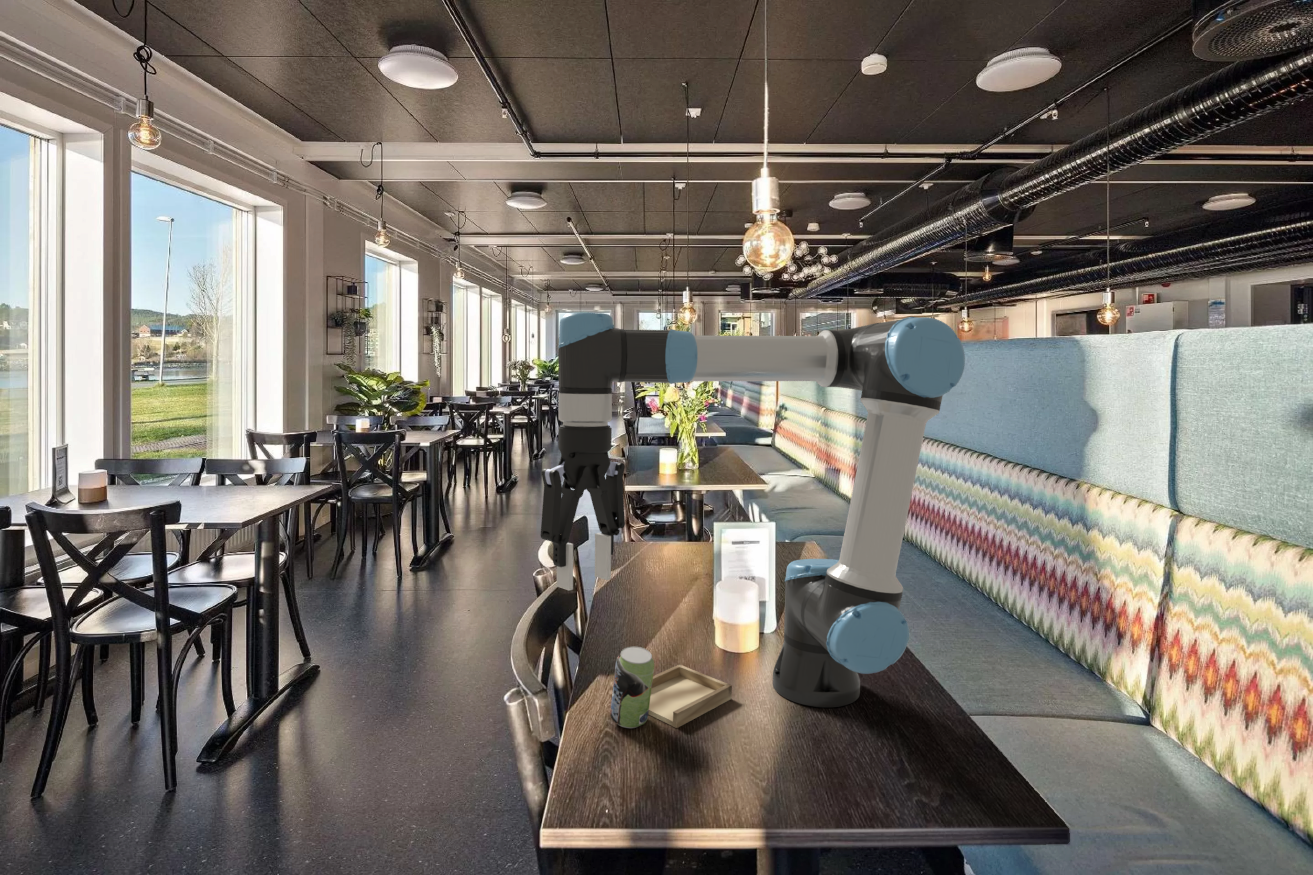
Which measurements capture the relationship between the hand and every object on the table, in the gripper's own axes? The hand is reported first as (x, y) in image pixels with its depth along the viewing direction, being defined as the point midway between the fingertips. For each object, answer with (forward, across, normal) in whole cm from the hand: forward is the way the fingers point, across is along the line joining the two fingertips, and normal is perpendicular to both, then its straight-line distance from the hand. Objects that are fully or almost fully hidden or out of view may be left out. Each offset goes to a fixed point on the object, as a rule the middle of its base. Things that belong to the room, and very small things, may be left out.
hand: (584, 582), depth 99 cm
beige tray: (+25, -21, 0) cm, 33 cm away
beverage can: (+25, -10, 0) cm, 27 cm away
